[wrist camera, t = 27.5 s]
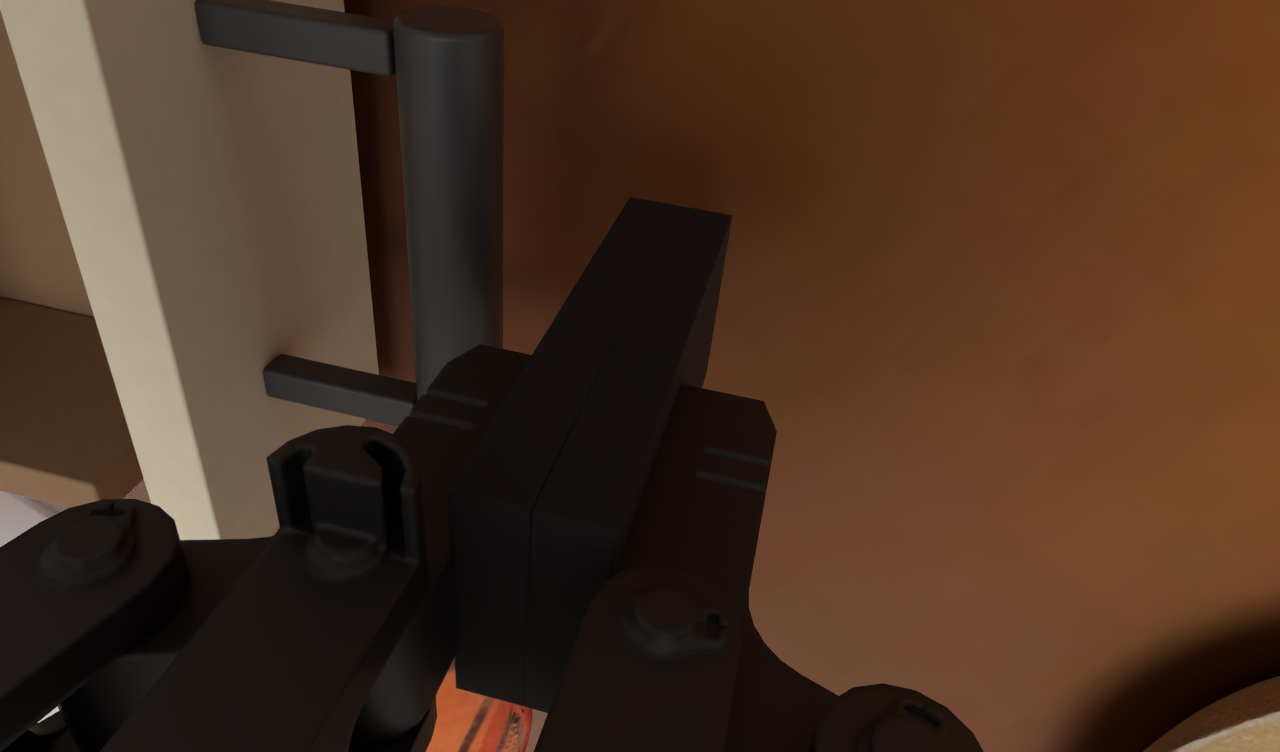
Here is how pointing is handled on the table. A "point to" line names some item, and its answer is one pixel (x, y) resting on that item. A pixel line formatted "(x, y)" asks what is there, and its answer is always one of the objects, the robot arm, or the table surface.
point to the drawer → (225, 238)
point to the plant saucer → (1230, 724)
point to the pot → (477, 721)
